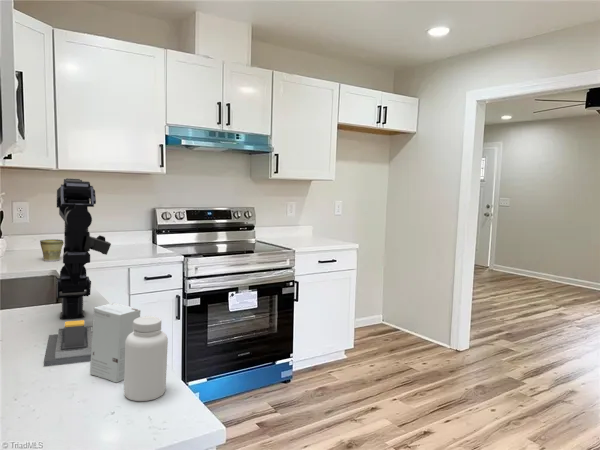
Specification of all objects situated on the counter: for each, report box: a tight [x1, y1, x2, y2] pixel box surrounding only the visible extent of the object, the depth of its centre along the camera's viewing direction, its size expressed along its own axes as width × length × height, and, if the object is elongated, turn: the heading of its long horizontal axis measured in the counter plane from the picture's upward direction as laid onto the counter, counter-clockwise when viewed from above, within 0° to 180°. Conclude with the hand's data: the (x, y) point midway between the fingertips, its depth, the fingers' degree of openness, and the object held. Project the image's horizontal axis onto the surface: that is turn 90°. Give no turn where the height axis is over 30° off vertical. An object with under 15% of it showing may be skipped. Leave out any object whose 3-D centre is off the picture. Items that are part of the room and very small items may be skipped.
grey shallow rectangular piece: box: [43, 325, 93, 368], centre depth 108 cm, size 18×12×3 cm, turn 26°
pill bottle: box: [123, 315, 169, 402], centre depth 87 cm, size 8×8×15 cm
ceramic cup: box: [39, 238, 64, 263], centre depth 217 cm, size 13×10×10 cm
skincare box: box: [89, 302, 141, 383], centre depth 95 cm, size 8×6×15 cm
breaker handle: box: [62, 319, 86, 350], centre depth 103 cm, size 4×5×7 cm
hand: (75, 284), depth 119 cm, fingers closed
